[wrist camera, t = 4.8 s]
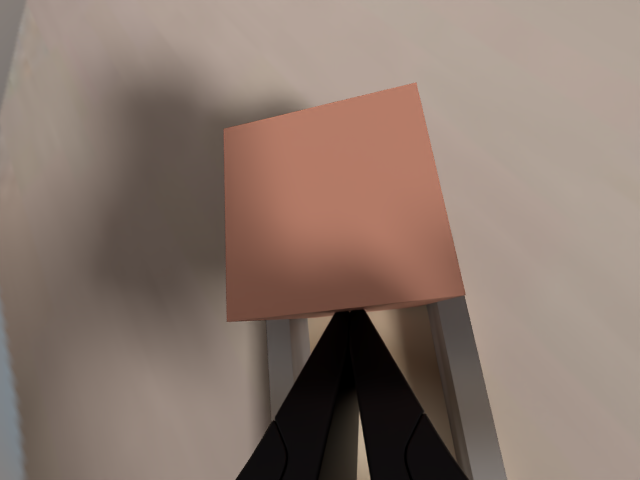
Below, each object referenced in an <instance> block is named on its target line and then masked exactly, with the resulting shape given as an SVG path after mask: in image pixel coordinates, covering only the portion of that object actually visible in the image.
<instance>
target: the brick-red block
mask: <svg viewBox="0 0 640 480" xmlns="http://www.w3.org/2000/svg"><path fill="white" fill-rule="evenodd" d="M224 179H225V239H226V300H227V322H235V321H257V320H279V319H300V318H318V317H327V316H333V315H334V313H335V312H342V311H349V312H350V311H351V310H360V309H364V310H365V311H366V312H373V311H382V310H391V309H400V308H409V307H418V306H422V305H427V304H431V303H435V302H439V301H443V300H447V299H451V298H455V297H459V296H464V295H466V294H465V290H464V285H463V281H462V277H461V272H460V268H459V264H458V260H457V255H456V251H455V247H454V242H453V238H452V234H451V230H450V225H449V221H448V217H447V212H446V208H445V204H444V199H443V195H442V191H441V187H440V182H439V178H438V174H437V169H436V165H435V161H434V156H433V152H432V148H431V144H430V139H429V135H428V131H427V126H426V122H425V118H424V114H423V109H422V105H421V101H420V96H419V92H418V88H417V83H412V84H408V85H404V86H400V87H396V88H391V89H387V90H383V91H379V92H375V93H371V94H366V95H362V96H358V97H354V98H350V99H346V100H342V101H337V102H333V103H329V104H325V105H321V106H317V107H312V108H308V109H304V110H300V111H296V112H292V113H287V114H283V115H279V116H275V117H271V118H267V119H262V120H258V121H254V122H250V123H246V124H242V125H237V126H233V127H229V128H225V129H224Z"/></svg>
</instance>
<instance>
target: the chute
mask: <svg viewBox="0 0 640 480" xmlns="http://www.w3.org/2000/svg"><path fill="white" fill-rule="evenodd" d="M366 313H367V314H368V316H369V318H370V319H371V321H372V323H373V325H374V326H375V328H376V330H377V331H378V333H379V335H380V336H381V338H382V340H383V341H384V343H385V345H386V347H387V348H388V350H389V352H390V353H391V355H392V357H393V358H394V360H395V362H396V363H397V365H398V367H399V368H400V370H401V372H402V374H403V375H404V377H405V379H406V380H407V382H408V384H409V385H410V387H411V389H412V390H413V392H414V394H415V396H416V397H417V399H418V401H419V402H420V404H421V406H422V407H423V409H424V411H425V413H426V414H427V415H428V417H429V419H430V420H431V422H432V424H433V426H434V427H435V429H436V431H437V432H438V434H439V435H440V437H441V438H442V440H443V442H444V443H445V445H446V446H447V448H448V450H449V451H450V453H451V454H452V456H453V457H454V459H455V460H456V461H457V463H458V464H459V466H460V467H461V469H462V470H463V471H464V473H465V474H466V476H467V477H468V478H469V480H507V477H506V473H505V468H504V464H503V460H502V455H501V451H500V447H499V442H498V438H497V434H496V429H495V425H494V421H493V417H492V412H491V408H490V404H489V399H488V395H487V391H486V386H485V382H484V378H483V373H482V369H481V365H480V360H479V356H478V352H477V347H476V343H475V339H474V334H473V330H472V326H471V322H470V317H469V313H468V309H467V304H466V300H465V296H459V297H455V298H451V299H447V300H443V301H439V302H435V303H431V304H427V305H422V306H418V307H409V308H400V309H391V310H382V311H373V312H366ZM332 317H333V316H327V317H318V318H300V319H279V320H266V327H267V347H268V366H269V386H270V405H271V422H272V421H273V420H275V419H274V417H275V415H276V414H277V412H278V410H279V409H280V407H281V405H282V403H283V402H284V400H285V398H286V396H287V395H288V393H289V391H290V389H291V388H292V386H293V384H294V383H295V381H296V379H297V377H298V376H299V374H300V372H301V370H302V369H303V367H304V365H305V363H306V362H307V360H308V358H309V357H310V355H311V353H312V351H313V350H314V348H315V346H316V344H317V343H318V341H319V339H320V337H321V336H322V334H323V332H324V331H325V329H326V327H327V325H328V324H329V322H330V320H331V318H332ZM357 480H370V474H369V468H368V462H367V456H366V450H365V444H364V437H363V431H362V425H361V419H360V413H359V432H358V462H357Z"/></svg>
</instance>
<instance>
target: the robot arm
mask: <svg viewBox="0 0 640 480" xmlns="http://www.w3.org/2000/svg"><path fill="white" fill-rule="evenodd" d="M359 413H360V419H361V425H362V431H363V437H364V444H365V450H366V456H367V462H368V468H369V474H370V480H469V478H468V477H467V476H466V474H465V473H464V471H463V470H462V469H461V467H460V466H459V464H458V463H457V461H456V460H455V459H454V457H453V456H452V454H451V453H450V451H449V450H448V448H447V446H446V445H445V443H444V442H443V440H442V438H441V437H440V435H439V434H438V432H437V431H436V429H435V427H434V426H433V424H432V422H431V420H430V419H429V417H428V415H427V414H426V413H425V411H424V409H423V407H422V406H421V404H420V402H419V401H418V399H417V397H416V396H415V394H414V392H413V390H412V389H411V387H410V385H409V384H408V382H407V380H406V379H405V377H404V375H403V374H402V372H401V370H400V368H399V367H398V365H397V363H396V362H395V360H394V358H393V357H392V355H391V353H390V352H389V350H388V348H387V347H386V345H385V343H384V341H383V340H382V338H381V336H380V335H379V333H378V331H377V330H376V328H375V326H374V325H373V323H372V321H371V319H370V318H369V316H368V314H367V313H366V311H365V310H364V309H360V310H351V311H350V312H349V311H342V312H335V313H334V315H333V317H332V318H331V320H330V322H329V324H328V325H327V327H326V329H325V331H324V332H323V334H322V336H321V337H320V339H319V341H318V343H317V344H316V346H315V348H314V350H313V351H312V353H311V355H310V357H309V358H308V360H307V362H306V363H305V365H304V367H303V369H302V370H301V372H300V374H299V376H298V377H297V379H296V381H295V383H294V384H293V386H292V388H291V389H290V391H289V393H288V395H287V396H286V398H285V400H284V402H283V403H282V405H281V407H280V409H279V410H278V412H277V414H276V415H275V417H274V419H275V420H273V421H272V422H271V424H270V426H269V427H268V429H267V431H266V433H265V434H264V436H263V438H262V439H261V441H260V443H259V444H258V446H257V448H256V449H255V451H254V452H253V454H252V456H251V457H250V459H249V460H248V462H247V463H246V465H245V466H244V468H243V469H242V471H241V472H240V474H239V475H238V477H237V478H236V480H357V462H358V432H359Z"/></svg>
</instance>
